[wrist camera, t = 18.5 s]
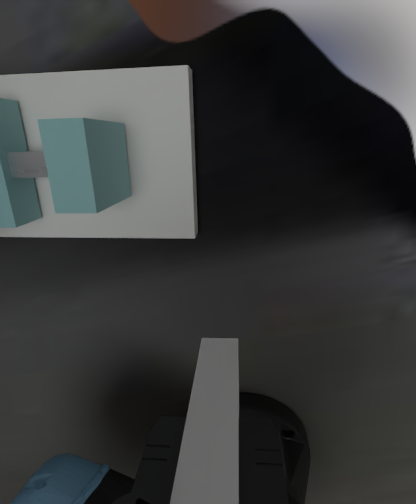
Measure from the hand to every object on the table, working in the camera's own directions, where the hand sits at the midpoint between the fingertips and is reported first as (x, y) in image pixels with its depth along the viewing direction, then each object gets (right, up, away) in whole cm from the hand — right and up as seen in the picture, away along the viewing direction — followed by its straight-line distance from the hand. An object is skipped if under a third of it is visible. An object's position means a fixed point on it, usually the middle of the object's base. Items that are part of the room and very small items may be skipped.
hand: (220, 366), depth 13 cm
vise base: (-14, +13, +17) cm, 26 cm away
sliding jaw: (-13, +13, +14) cm, 23 cm away
